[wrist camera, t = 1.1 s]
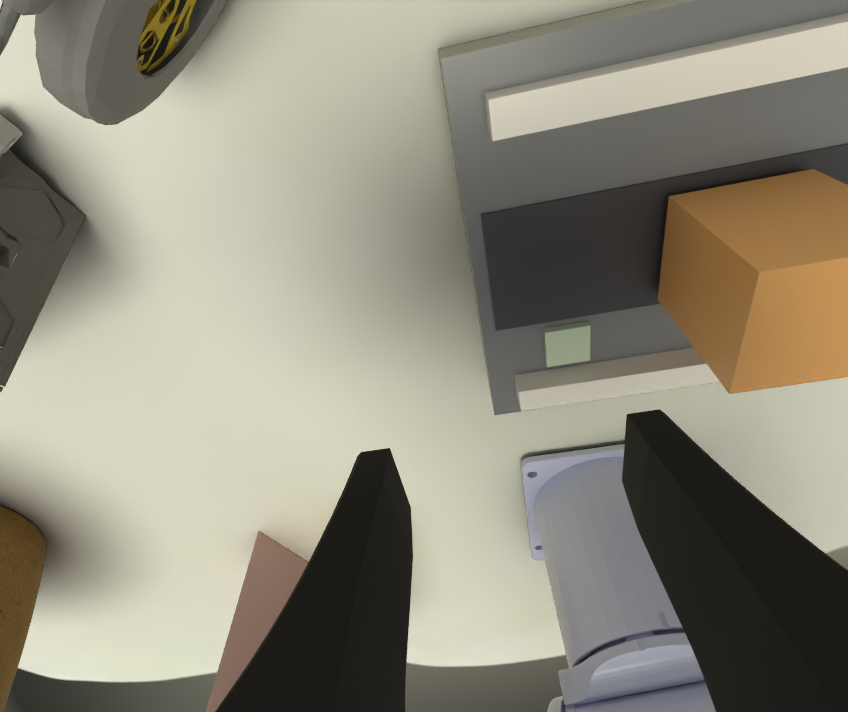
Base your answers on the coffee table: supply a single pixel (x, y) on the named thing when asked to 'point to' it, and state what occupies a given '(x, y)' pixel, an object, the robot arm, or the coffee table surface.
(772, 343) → the block
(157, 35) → the pocket watch
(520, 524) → the coffee table surface
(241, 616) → the greeting card
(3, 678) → the plant pot
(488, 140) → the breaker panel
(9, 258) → the electrical switch
